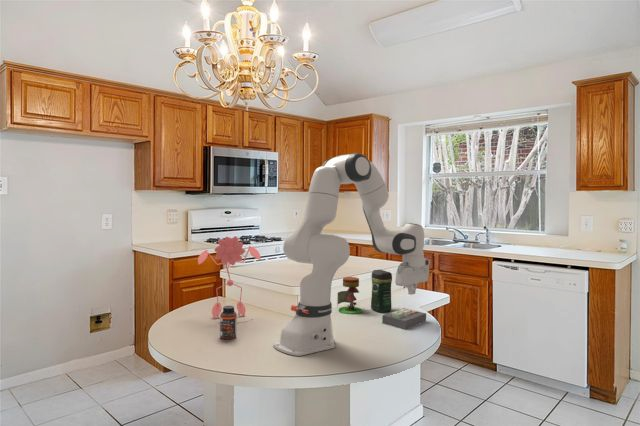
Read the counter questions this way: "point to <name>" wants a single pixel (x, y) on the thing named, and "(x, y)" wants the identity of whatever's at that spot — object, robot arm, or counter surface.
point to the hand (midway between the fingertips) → (411, 294)
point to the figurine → (229, 254)
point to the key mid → (405, 312)
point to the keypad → (404, 320)
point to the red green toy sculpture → (349, 296)
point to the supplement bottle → (228, 323)
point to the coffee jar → (381, 291)
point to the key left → (398, 315)
